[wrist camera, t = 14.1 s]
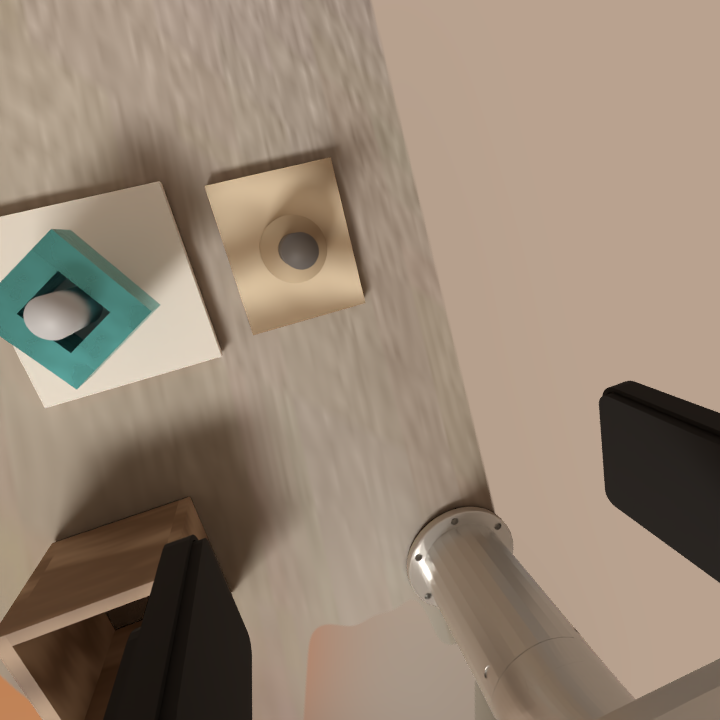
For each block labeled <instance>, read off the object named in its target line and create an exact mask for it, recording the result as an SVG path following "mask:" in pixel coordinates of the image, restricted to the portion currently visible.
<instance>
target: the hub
mask: <svg viewBox="0 0 720 720" xmlns="http://www.w3.org/2000/svg"><path fill="white" fill-rule="evenodd" d="M50 229H64V230H71V231H73V232H74V233H75V234H76V235H77V236H79V237H80V238H81V239H82V240H83V241H85V242H86V243H87V244H88V245H89V246H91V247H92V248H93V249H94V250H95V251H97V252H98V253H99V254H100V255H101V256H103V257H104V258H105V259H106V260H107V261H109V262H110V263H111V264H112V265H113V266H115V267H116V268H117V269H118V270H119V271H121V272H122V273H123V274H124V275H125V276H127V277H128V278H129V279H130V280H131V281H133V282H134V283H135V284H136V285H137V286H139V287H140V288H141V289H142V290H143V291H145V292H146V293H147V294H148V295H149V296H151V297H152V298H153V299H154V300H155V301H157V302H158V303H159V304H160V306H159V307H158V308H157V309H156V310H155V311H154V312H153V313H152V315H151V316H150V317H149V318H148V319H147V320H146V321H145V322H144V323H143V324H142V325H141V326H140V327H139V328H138V329H137V330H136V331H135V332H134V333H133V334H132V335H131V336H130V337H129V338H128V339H127V340H126V341H125V343H124V344H123V345H122V346H121V347H120V348H119V349H118V350H117V351H116V352H115V353H114V354H113V355H112V356H111V357H110V358H109V359H108V360H107V361H106V362H105V363H104V364H103V365H102V366H101V367H100V368H99V370H98V371H97V372H96V373H95V374H94V375H93V376H92V377H91V378H89V379H88V380H87V381H86V382H85V383H84V384H82V385H81V386H80V387H79V388H78V389H75V388H74V387H72V386H71V385H69V384H68V383H67V382H65V381H64V380H62V379H61V378H59V377H58V376H56V375H55V374H54V373H52V372H51V371H49V370H48V369H46V368H45V367H44V366H42V365H41V364H39V363H38V362H36V361H35V360H34V359H32V358H31V357H29V356H28V355H26V354H25V353H23V352H22V351H21V350H19V349H18V348H16V347H15V346H13V347H14V349H15V351H16V353H17V355H18V357H19V358H20V360H21V362H22V364H23V366H24V368H25V370H26V372H27V374H28V376H29V378H30V380H31V382H32V384H33V386H34V388H35V390H36V392H37V393H38V395H39V397H40V399H41V401H42V403H43V405H44V407H45V408H47V407H51V406H54V405H58V404H61V403H64V402H68V401H71V400H75V399H78V398H82V397H85V396H88V395H92V394H95V393H99V392H102V391H105V390H109V389H112V388H116V387H119V386H123V385H126V384H129V383H133V382H136V381H140V380H143V379H147V378H150V377H153V376H157V375H160V374H164V373H167V372H170V371H174V370H177V369H181V368H184V367H188V366H191V365H194V364H198V363H201V362H205V361H208V360H211V359H215V358H218V357H222V351H221V348H220V345H219V342H218V340H217V337H216V334H215V331H214V328H213V326H212V323H211V320H210V317H209V314H208V312H207V309H206V306H205V303H204V300H203V298H202V295H201V292H200V289H199V286H198V284H197V281H196V278H195V275H194V272H193V270H192V267H191V264H190V261H189V258H188V256H187V253H186V250H185V247H184V244H183V242H182V239H181V236H180V233H179V230H178V227H177V225H176V222H175V219H174V216H173V213H172V211H171V208H170V205H169V202H168V199H167V197H166V194H165V191H164V188H163V185H162V183H161V182H160V181H158V182H153V183H149V184H144V185H140V186H135V187H131V188H126V189H122V190H117V191H113V192H108V193H104V194H100V195H95V196H91V197H86V198H82V199H77V200H73V201H68V202H64V203H59V204H55V205H50V206H46V207H41V208H37V209H32V210H28V211H24V212H19V213H15V214H10V215H6V216H1V217H0V282H1V281H2V280H3V279H4V278H5V277H6V276H7V275H8V274H9V273H10V271H11V270H12V269H13V268H14V267H15V266H16V265H17V264H18V263H19V262H20V261H21V260H22V259H23V258H24V257H25V256H26V255H27V254H28V253H29V252H30V250H31V249H32V248H33V247H34V246H35V245H36V244H37V243H38V242H39V241H40V240H41V239H42V238H43V237H44V236H45V235H46V234H47V233H48V232H49V231H50ZM109 313H110V312H109V311H108V310H107V309H106V308H104V307H103V306H102V305H101V304H99V303H98V302H97V301H95V300H94V299H93V298H92V297H90V296H89V295H88V294H87V293H85V292H84V291H83V290H82V289H80V288H79V287H78V286H76V285H75V284H74V283H73V282H71V281H70V280H69V279H68V278H66V279H65V280H64V281H63V282H62V283H61V284H60V285H59V286H58V287H57V288H56V290H55V291H54V292H53V293H49V294H45V295H42V296H38V297H35V298H33V299H32V300H31V301H29V302H28V304H27V305H26V307H25V309H24V314H23V316H24V322H25V324H26V326H27V327H28V329H29V330H30V331H31V332H32V333H33V334H34V335H36V336H38V337H40V338H42V339H46V340H60V339H63V338H65V337H67V336H69V335H71V334H73V333H75V334H76V335H78V336H79V337H80V338H82V339H83V340H84V339H85V338H86V337H87V336H88V335H89V334H90V333H91V332H92V331H93V330H94V329H95V328H96V327H97V326H98V325H99V324H100V322H101V321H102V320H103V319H104V318H105V317H106V316H107V315H108V314H109Z"/></svg>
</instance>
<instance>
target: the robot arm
mask: <svg viewBox="0 0 720 720" xmlns="http://www.w3.org/2000/svg"><path fill="white" fill-rule="evenodd" d="M599 410H600V424H601V439H602V452H603V466H604V481H605V492H606V495H607V497H608V499H609V500H610V502H611V503H612V504H613V505H614V506H615V507H617V508H618V509H619V510H621V511H622V512H623V513H625V514H626V515H628V516H629V517H631V518H632V519H633V520H634V521H636V522H637V523H639V524H640V525H641V526H643V527H644V528H645V529H647V530H648V531H650V532H651V533H652V534H654V535H655V536H656V537H658V538H659V539H661V540H662V541H663V542H665V543H666V544H667V545H669V546H670V547H672V548H673V549H674V550H676V551H677V552H678V553H680V554H681V555H682V556H684V557H685V558H687V559H688V560H690V561H691V562H692V563H693V564H695V565H696V566H697V567H699V568H700V569H702V570H703V571H704V572H706V573H707V574H708V575H710V576H711V577H713V578H714V579H715V580H717V581H718V582H720V413H718V412H715V411H713V410H710V409H707V408H704V407H702V406H699V405H696V404H694V403H691V402H688V401H685V400H683V399H680V398H677V397H675V396H672V395H669V394H667V393H664V392H661V391H658V390H656V389H653V388H650V387H647V386H645V385H642V384H639V383H637V382H633V381H627V382H623V383H620V384H618V385H615V386H612V387H609V388H607V389H606V390H605V391H604V392H603V396H602V397H601V398H600V401H599ZM407 575H408V579H409V581H410V584H411V586H412V588H413V590H414V591H415V593H416V594H417V595H418V596H419V598H420V599H421V600H423V601H425V602H426V603H428V604H430V605H433V606H435V607H438V608H439V610H440V612H441V613H442V615H443V617H444V619H445V621H446V623H447V625H448V627H449V629H450V631H451V633H452V635H453V637H454V639H455V641H456V643H457V645H458V646H459V648H460V650H461V652H462V654H463V656H464V658H465V660H466V662H467V664H468V666H469V668H470V670H471V672H472V674H473V676H474V678H475V680H476V682H477V683H478V685H479V687H480V689H481V691H482V693H483V695H484V697H485V699H486V701H487V703H488V705H489V707H490V709H491V711H492V713H493V715H494V717H495V718H496V720H720V659H718V660H716V661H714V662H712V663H710V664H708V665H706V666H704V667H702V668H700V669H698V670H695V671H693V672H691V673H689V674H687V675H685V676H683V677H681V678H679V679H677V680H675V681H673V682H671V683H669V684H667V685H665V686H663V687H661V688H659V689H657V690H655V691H653V692H651V693H648V694H646V695H644V696H642V697H640V698H638V699H635V698H634V697H633V696H632V695H631V694H630V693H629V692H628V691H627V689H626V688H625V687H624V686H623V685H622V684H621V683H620V681H619V680H618V679H617V678H616V677H615V676H614V675H613V673H612V672H611V671H610V670H609V669H608V667H607V666H606V665H605V664H604V663H603V662H602V660H601V659H600V658H599V657H598V656H597V654H596V653H595V652H594V651H593V650H592V649H591V647H590V646H589V645H588V644H587V642H586V641H585V640H584V639H583V638H582V637H581V635H580V634H579V633H578V632H577V630H576V629H575V628H574V627H573V626H572V624H570V622H569V621H568V620H567V619H566V617H565V616H564V615H563V614H562V613H561V611H560V610H559V609H558V608H557V607H556V605H555V604H554V603H553V602H552V601H551V600H550V598H549V597H548V596H547V595H546V594H545V592H544V591H543V590H542V589H541V587H540V586H539V585H538V584H537V583H536V582H535V580H534V579H533V578H532V577H531V576H530V574H529V573H528V572H527V571H526V570H525V569H524V567H523V566H522V565H521V564H520V563H519V561H518V560H517V559H516V558H515V556H514V555H513V540H512V536H511V532H510V531H509V529H508V527H507V526H506V524H505V523H504V522H503V521H502V520H501V518H499V517H498V516H497V515H496V514H495V513H493V512H491V511H489V510H487V509H484V508H480V507H462V508H457V509H454V510H451V511H448V512H446V513H444V514H442V515H440V516H438V517H437V518H435V519H434V520H432V521H431V522H430V523H429V524H428V525H427V526H426V527H425V528H424V529H423V530H422V531H421V532H420V533H419V534H418V536H417V537H416V539H415V540H414V542H413V544H412V546H411V548H410V551H409V554H408V558H407ZM103 720H252V650H251V643H250V638H249V635H248V632H247V629H246V627H245V625H244V623H243V620H242V618H241V616H240V613H239V611H238V609H237V606H236V604H235V602H234V599H233V597H232V595H231V592H230V590H229V588H228V585H227V583H226V581H225V578H224V576H223V574H222V571H221V569H220V567H219V564H218V562H217V560H216V557H215V555H214V553H213V550H212V548H211V546H210V543H209V541H208V540H207V539H206V538H203V539H200V540H198V538H197V537H196V536H195V535H190V536H187V537H184V538H181V539H179V540H176V541H173V542H170V543H167V544H165V545H164V547H163V550H162V553H161V557H160V560H159V564H158V568H157V571H156V575H155V578H154V582H153V585H152V589H151V593H150V596H149V600H148V603H147V607H146V610H145V614H144V618H143V621H142V625H141V627H139V628H136V629H134V630H133V631H132V632H131V633H130V635H129V638H128V640H127V643H126V646H125V649H124V653H123V656H122V659H121V662H120V666H119V669H118V672H117V675H116V679H115V682H114V685H113V689H112V692H111V695H110V698H109V702H108V705H107V708H106V712H105V715H104V718H103Z"/></svg>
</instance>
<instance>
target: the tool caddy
mask: <svg viewBox="0 0 720 720" xmlns="http://www.w3.org/2000/svg"><path fill="white" fill-rule="evenodd" d="M190 535H195V536H196V537H197V538H198V540H200V539H203V538H206V539H207V540H208V538H207V535H206V533H205V531H204V528H203V526H202V524H201V521H200V519H199V517H198V514H197V512H196V510H195V507H194V505H193V503H192V500H191V498H190V497H187V498H184V499H181V500H178V501H175V502H173V503H170V504H167V505H164V506H161V507H158V508H155V509H152V510H149V511H146V512H143V513H140V514H137V515H134V516H131V517H128V518H125V519H122V520H120V521H117V522H114V523H111V524H108V525H105V526H102V527H99V528H96V529H93V530H90V531H87V532H84V533H81V534H78V535H75V536H72V537H69V538H66V539H64V540H61V541H58V542H55V543H52V544H51V546H50V548H49V549H48V551H47V552H46V554H45V555H44V557H43V558H42V560H41V561H40V563H39V564H38V566H37V568H36V569H35V571H34V572H33V574H32V575H31V577H30V578H29V580H28V581H27V583H26V585H25V586H24V588H23V589H22V591H21V592H20V594H19V595H18V597H17V598H16V600H15V601H14V603H13V605H12V606H11V608H10V609H9V611H8V612H7V614H6V615H5V617H4V618H3V620H2V622H1V623H0V659H1V660H2V662H3V663H4V664H5V666H6V667H7V669H8V670H9V672H10V673H11V675H12V676H13V678H14V679H15V680H16V682H17V683H18V685H19V686H20V688H21V689H22V691H23V692H24V694H25V695H26V696H27V698H28V699H29V701H30V702H31V704H32V705H33V707H34V708H35V710H36V711H37V712H38V714H39V715H40V717H41V718H42V720H103V718H104V715H105V712H106V708H107V705H108V702H109V698H110V695H111V692H112V689H113V685H114V682H115V679H116V675H117V672H118V669H119V666H120V662H121V659H122V656H123V653H124V649H125V646H126V643H127V640H128V638H129V635H130V633H131V632H132V631H133V630H134V629H136V628H139V627H141V625H142V621H143V620H142V621H139V622H136V623H134V624H131V625H128V626H126V627H123V628H120V629H118V630H115V629H114V628H113V626H112V624H111V622H110V621H109V619H108V617H107V615H106V613H105V612H106V611H109V610H111V609H114V608H117V607H120V606H122V605H125V604H128V603H130V602H133V601H136V600H139V599H141V598H144V597H147V596H149V595H150V593H151V589H152V585H153V582H154V578H155V575H156V571H157V568H158V564H159V560H160V557H161V553H162V550H163V547H164V545H165V544H167V543H170V542H173V541H176V540H179V539H181V538H184V537H187V536H190ZM208 541H209V540H208ZM209 543H210V542H209ZM210 546H211V545H210ZM211 548H212V547H211ZM212 550H213V549H212ZM213 553H214V552H213ZM214 555H215V554H214ZM215 557H216V556H215ZM216 560H217V559H216ZM217 562H218V561H217ZM218 564H219V563H218ZM219 567H220V566H219ZM220 569H221V568H220ZM221 571H222V570H221ZM222 574H223V573H222ZM223 576H224V575H223ZM224 578H225V577H224ZM225 581H226V580H225ZM226 583H227V582H226ZM227 585H228V584H227ZM228 588H229V587H228ZM229 590H230V589H229ZM230 592H231V591H230ZM231 595H232V594H231Z"/></svg>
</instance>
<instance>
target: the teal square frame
mask: <svg viewBox="0 0 720 720" xmlns="http://www.w3.org/2000/svg"><path fill="white" fill-rule="evenodd" d="M66 278H68V279H69V280H70V281H71V282H73V283H74V284H75V285H76V286H78V287H79V288H80V289H82V290H83V291H84V292H85V293H87V294H88V295H89V296H90V297H92V298H93V299H94V300H95V301H97V302H98V303H99V304H101V305H102V306H103V307H104V308H106V309H107V310H108V311H109V312H110V313H109V314H108V315H107V316H106V317H105V318H104V319H103V320H102V321H101V322H100V324H99V325H98V326H97V327H96V328H95V329H94V330H93V331H92V332H91V333H90V334H89V335H88V336H87V337H86V338H85V339H84V340H83V339H82V338H80V337H79V336H78V335H76V334H75V333H73V334H71V335H69V336H67V337H65V338H63V339H60V340H46V339H42V338H40V337H38V336H36V335H34V334H33V333H32V332H31V331H30V330H29V329H28V327H27V326H26V324H25V322H24V316H23V314H24V309H25V307H26V305H27V304H28V302H29V301H31V300H32V299H33V298H35V297H38V296H42V295H45V294H49V293H53V292H54V291H55V290H56V288H57V287H58V286H59V285H60V284H61V283H62V282H63V281H64V280H65V279H66ZM159 306H160V304H159V303H158V302H157V301H155V300H154V299H153V298H152V297H151V296H149V295H148V294H147V293H146V292H145V291H143V290H142V289H141V288H140V287H139V286H137V285H136V284H135V283H134V282H133V281H131V280H130V279H129V278H128V277H127V276H125V275H124V274H123V273H122V272H121V271H119V270H118V269H117V268H116V267H115V266H113V265H112V264H111V263H110V262H109V261H107V260H106V259H105V258H104V257H103V256H101V255H100V254H99V253H98V252H97V251H95V250H94V249H93V248H92V247H91V246H89V245H88V244H87V243H86V242H85V241H83V240H82V239H81V238H80V237H79V236H77V235H76V234H75V233H74V232H73V231H71V230H64V229H50V231H49V232H48V233H47V234H46V235H45V236H44V237H43V238H42V239H41V240H40V241H39V242H38V243H37V244H36V245H35V246H34V247H33V248H32V249H31V250H30V252H29V253H28V254H27V255H26V256H25V257H24V258H23V259H22V260H21V261H20V262H19V263H18V264H17V265H16V266H15V267H14V268H13V269H12V270H11V271H10V273H9V274H8V275H7V276H6V277H5V278H4V279H3V280H2V281H1V282H0V336H1V337H2V338H3V339H5V340H6V341H8V342H9V343H11V344H12V345H13V346H15V347H16V348H18V349H19V350H21V351H22V352H23V353H25V354H26V355H28V356H29V357H31V358H32V359H34V360H35V361H36V362H38V363H39V364H41V365H42V366H44V367H45V368H46V369H48V370H49V371H51V372H52V373H54V374H55V375H56V376H58V377H59V378H61V379H62V380H64V381H65V382H67V383H68V384H69V385H71V386H72V387H74V388H75V389H78V388H79V387H80V386H81V385H82V384H84V383H85V382H86V381H87V380H88V379H89V378H91V377H92V376H93V375H94V374H95V373H96V372H97V371H98V370H99V368H100V367H101V366H102V365H103V364H104V363H105V362H106V361H107V360H108V359H109V358H110V357H111V356H112V355H113V354H114V353H115V352H116V351H117V350H118V349H119V348H120V347H121V346H122V345H123V344H124V343H125V341H126V340H127V339H128V338H129V337H130V336H131V335H132V334H133V333H134V332H135V331H136V330H137V329H138V328H139V327H140V326H141V325H142V324H143V323H144V322H145V321H146V320H147V319H148V318H149V317H150V316H151V315H152V313H153V312H154V311H155V310H156V309H157V308H158V307H159Z"/></svg>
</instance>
